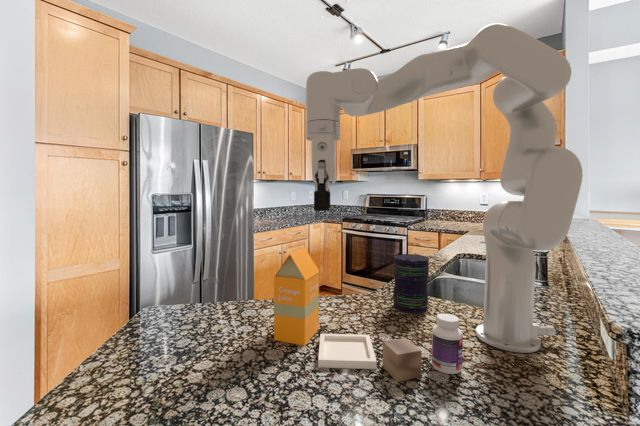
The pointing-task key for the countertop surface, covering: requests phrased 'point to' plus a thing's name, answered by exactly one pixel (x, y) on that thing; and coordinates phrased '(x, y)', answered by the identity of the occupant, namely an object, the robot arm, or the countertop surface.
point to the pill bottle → (447, 344)
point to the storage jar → (411, 283)
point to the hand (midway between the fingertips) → (322, 209)
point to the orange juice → (296, 299)
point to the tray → (346, 351)
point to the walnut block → (402, 359)
